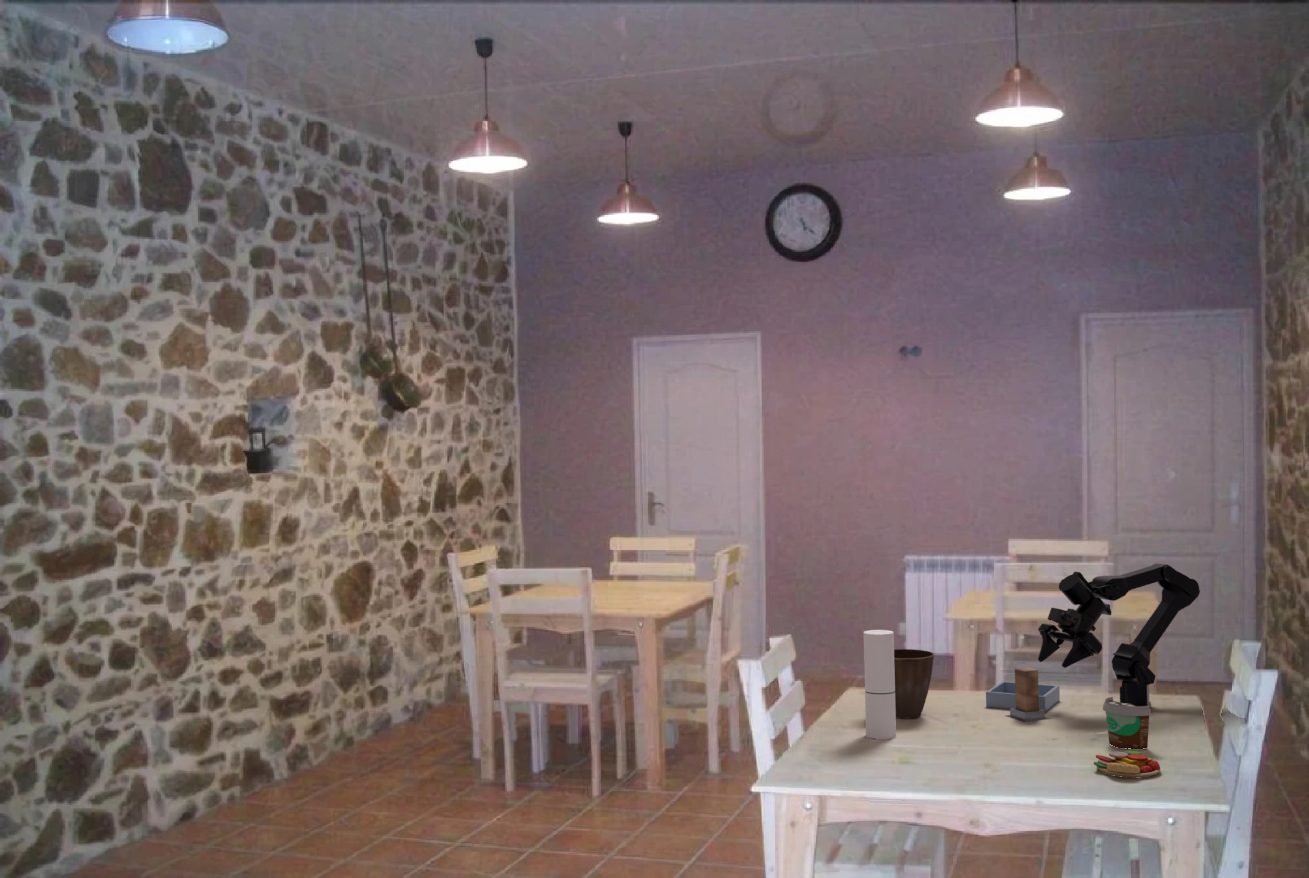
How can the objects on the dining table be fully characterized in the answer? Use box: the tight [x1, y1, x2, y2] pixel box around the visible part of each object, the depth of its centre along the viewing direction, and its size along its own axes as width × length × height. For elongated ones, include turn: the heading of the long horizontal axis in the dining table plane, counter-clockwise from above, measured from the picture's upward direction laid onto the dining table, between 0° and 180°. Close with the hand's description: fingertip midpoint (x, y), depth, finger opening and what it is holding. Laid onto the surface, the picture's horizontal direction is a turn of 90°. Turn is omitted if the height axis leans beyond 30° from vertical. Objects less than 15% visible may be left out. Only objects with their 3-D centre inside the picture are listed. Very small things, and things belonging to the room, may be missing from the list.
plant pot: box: [894, 648, 935, 719], centre depth 332 cm, size 15×15×16 cm
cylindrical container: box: [862, 629, 897, 740], centre depth 311 cm, size 7×7×25 cm
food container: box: [1102, 696, 1152, 750], centre depth 295 cm, size 12×6×10 cm, turn 25°
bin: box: [985, 681, 1061, 713], centre depth 340 cm, size 15×15×4 cm
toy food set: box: [1093, 749, 1161, 779], centre depth 275 cm, size 13×13×3 cm
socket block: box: [1004, 707, 1052, 723], centre depth 324 cm, size 8×8×3 cm
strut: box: [1014, 667, 1039, 712], centre depth 324 cm, size 4×4×12 cm
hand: (1051, 663), depth 327 cm, fingers open, 9 cm apart
